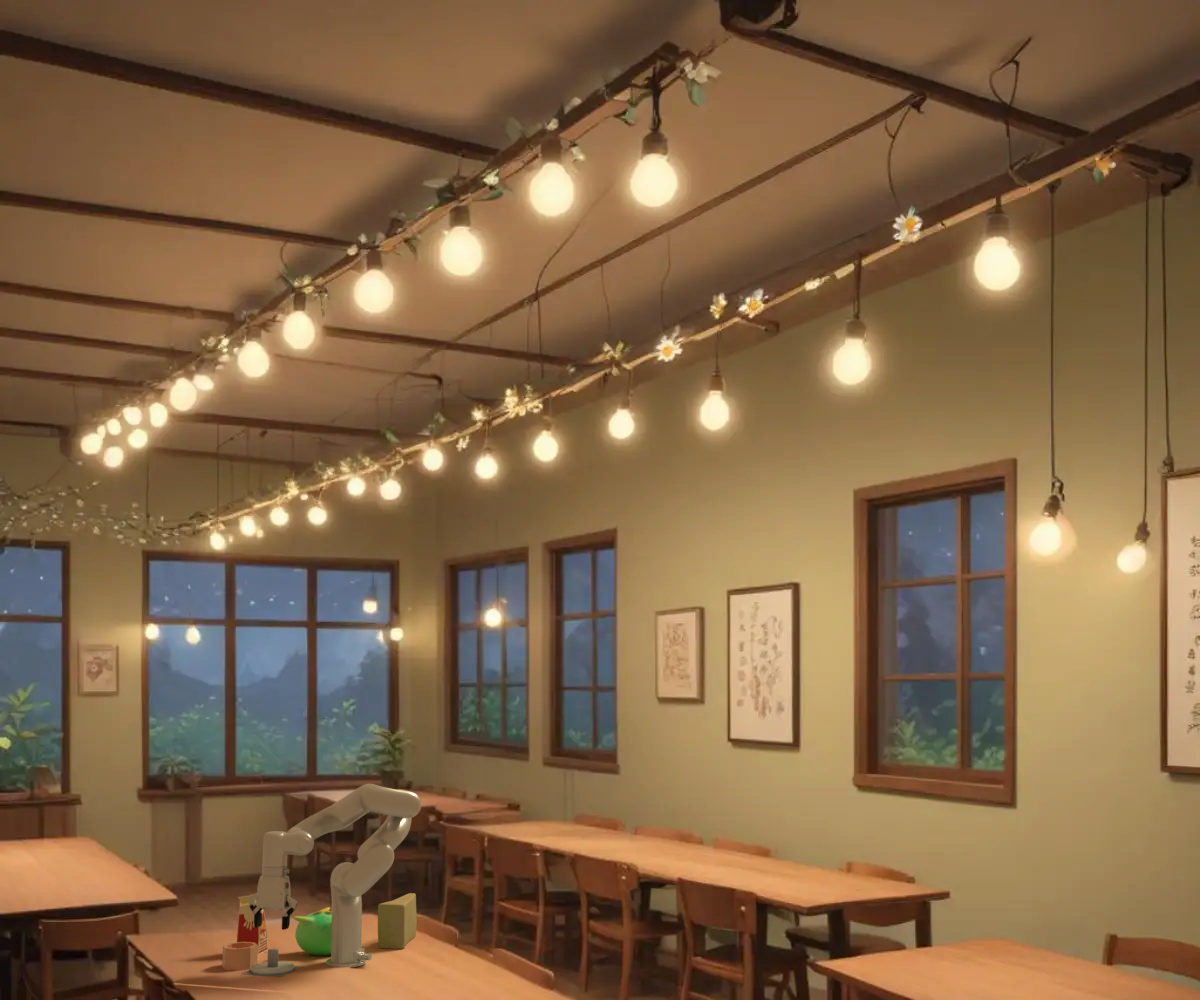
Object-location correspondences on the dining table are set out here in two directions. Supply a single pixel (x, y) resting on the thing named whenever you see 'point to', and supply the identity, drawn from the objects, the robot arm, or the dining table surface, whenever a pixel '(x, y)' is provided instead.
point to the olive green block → (397, 922)
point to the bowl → (239, 955)
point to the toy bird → (315, 932)
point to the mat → (273, 975)
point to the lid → (272, 965)
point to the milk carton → (251, 926)
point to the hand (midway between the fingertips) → (271, 927)
